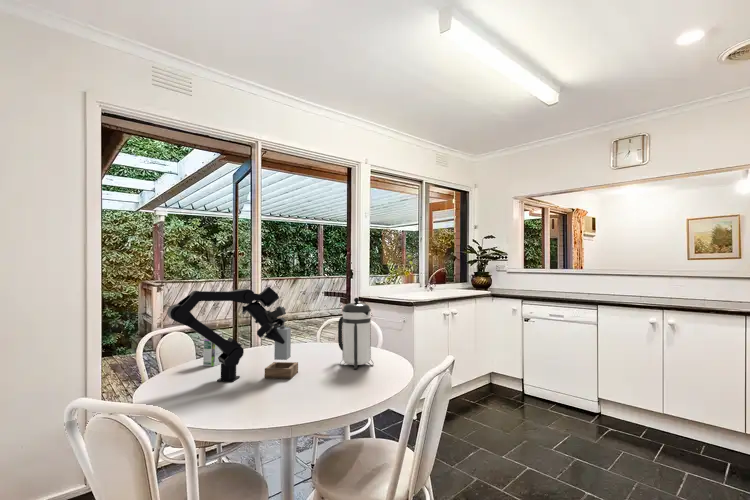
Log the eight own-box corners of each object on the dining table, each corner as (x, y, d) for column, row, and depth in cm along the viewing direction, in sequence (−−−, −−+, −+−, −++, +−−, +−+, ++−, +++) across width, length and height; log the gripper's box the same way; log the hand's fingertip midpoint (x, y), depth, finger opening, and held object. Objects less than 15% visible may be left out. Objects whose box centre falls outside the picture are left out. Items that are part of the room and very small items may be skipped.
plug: (286, 359, 153) (286, 326, 153) (274, 359, 153) (274, 326, 154) (290, 357, 158) (290, 325, 158) (278, 356, 158) (279, 324, 159)
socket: (290, 379, 150) (290, 369, 150) (264, 378, 151) (264, 368, 151) (298, 372, 160) (298, 362, 160) (273, 371, 161) (273, 362, 161)
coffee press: (375, 361, 178) (374, 296, 180) (371, 370, 162) (371, 298, 164) (338, 360, 180) (338, 296, 181) (331, 369, 164) (331, 298, 165)
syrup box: (202, 365, 171) (202, 333, 172) (211, 362, 177) (212, 330, 178) (213, 366, 170) (213, 333, 170) (222, 363, 175) (222, 331, 176)
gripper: (265, 302, 148) (293, 331, 146) (281, 298, 166) (306, 324, 165) (245, 322, 148) (272, 352, 147) (263, 316, 167) (288, 342, 165)
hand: (286, 341), depth 156 cm, fingers closed on plug, 5 cm apart
